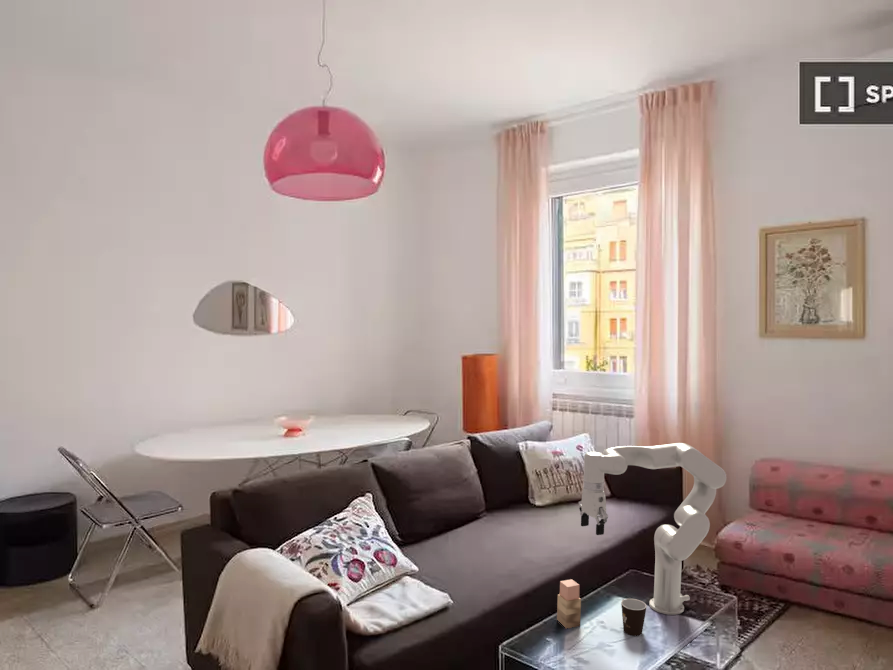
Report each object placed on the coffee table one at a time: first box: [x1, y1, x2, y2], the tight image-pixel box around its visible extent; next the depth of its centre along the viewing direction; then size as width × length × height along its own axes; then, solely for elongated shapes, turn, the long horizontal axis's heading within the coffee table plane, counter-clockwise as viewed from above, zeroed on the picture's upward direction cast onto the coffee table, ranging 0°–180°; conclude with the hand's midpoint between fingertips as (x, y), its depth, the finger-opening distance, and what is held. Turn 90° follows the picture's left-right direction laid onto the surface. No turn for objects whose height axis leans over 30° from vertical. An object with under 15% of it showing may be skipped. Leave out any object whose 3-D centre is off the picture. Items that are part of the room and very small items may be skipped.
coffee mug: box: [620, 598, 648, 637], centre depth 238 cm, size 12×9×10 cm
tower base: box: [556, 608, 581, 630], centre depth 242 cm, size 6×6×5 cm
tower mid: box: [556, 593, 582, 615], centre depth 241 cm, size 6×6×5 cm
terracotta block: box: [559, 578, 580, 601], centre depth 241 cm, size 5×5×5 cm
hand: (592, 530), depth 252 cm, fingers open, 9 cm apart
